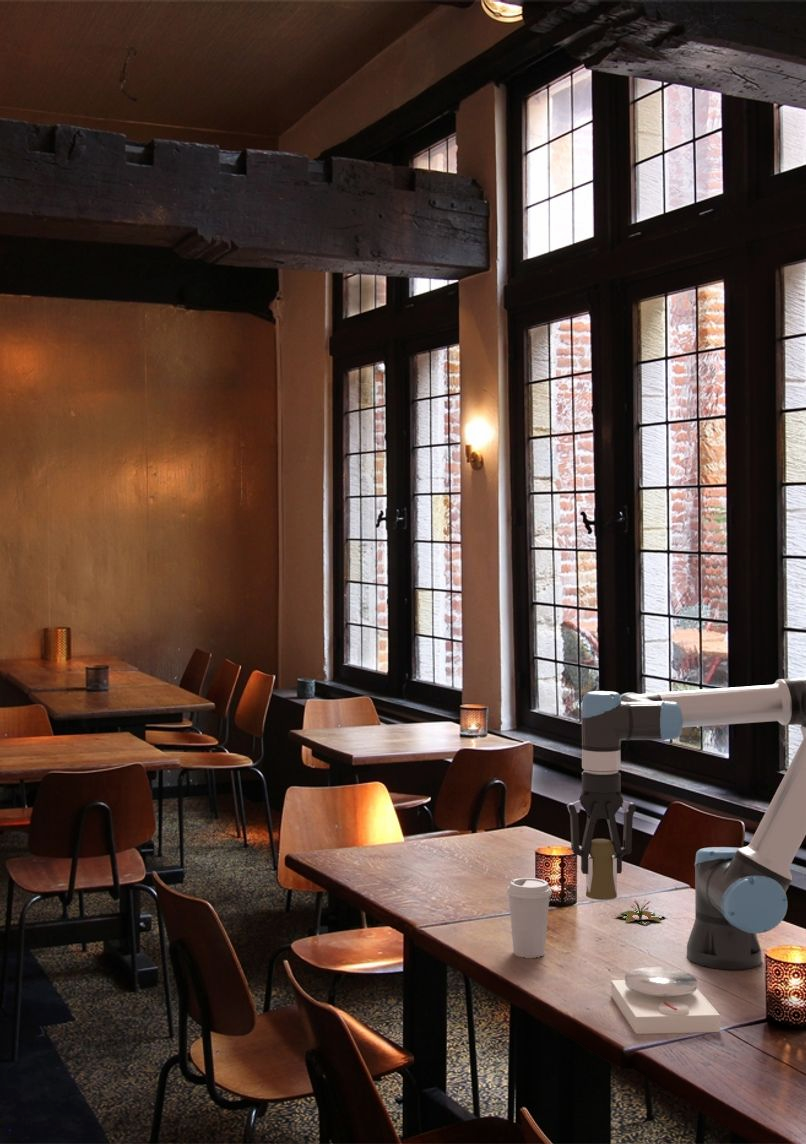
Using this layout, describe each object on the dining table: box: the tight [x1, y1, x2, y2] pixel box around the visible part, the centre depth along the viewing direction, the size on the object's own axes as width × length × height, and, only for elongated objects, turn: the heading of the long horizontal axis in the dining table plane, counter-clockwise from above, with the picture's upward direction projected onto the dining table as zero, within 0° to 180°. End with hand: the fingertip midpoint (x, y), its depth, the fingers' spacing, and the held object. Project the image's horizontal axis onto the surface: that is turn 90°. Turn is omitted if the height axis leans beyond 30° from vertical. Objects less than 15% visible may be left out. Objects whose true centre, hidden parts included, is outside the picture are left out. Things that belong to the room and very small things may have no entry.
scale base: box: [610, 979, 721, 1035], centre depth 227 cm, size 15×19×4 cm
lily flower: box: [616, 899, 662, 926], centre depth 288 cm, size 12×12×5 cm
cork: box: [585, 838, 618, 901], centre depth 243 cm, size 6×6×11 cm
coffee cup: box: [505, 877, 553, 959], centre depth 262 cm, size 10×10×15 cm
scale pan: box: [624, 966, 698, 997], centre depth 229 cm, size 13×13×1 cm
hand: (601, 889), depth 243 cm, fingers closed on cork, 4 cm apart
